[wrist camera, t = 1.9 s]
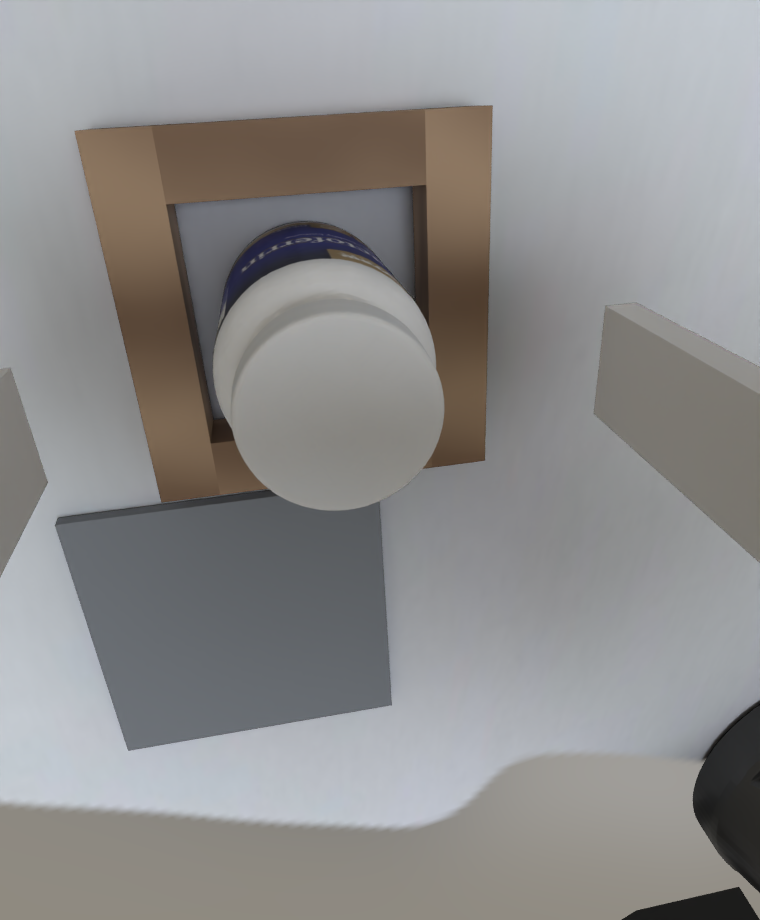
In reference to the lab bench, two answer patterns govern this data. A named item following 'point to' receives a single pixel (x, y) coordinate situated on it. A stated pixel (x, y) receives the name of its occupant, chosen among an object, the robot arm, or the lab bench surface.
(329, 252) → the pill bottle
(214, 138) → the wooden square frame
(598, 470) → the lab bench surface
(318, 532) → the rubber mat
